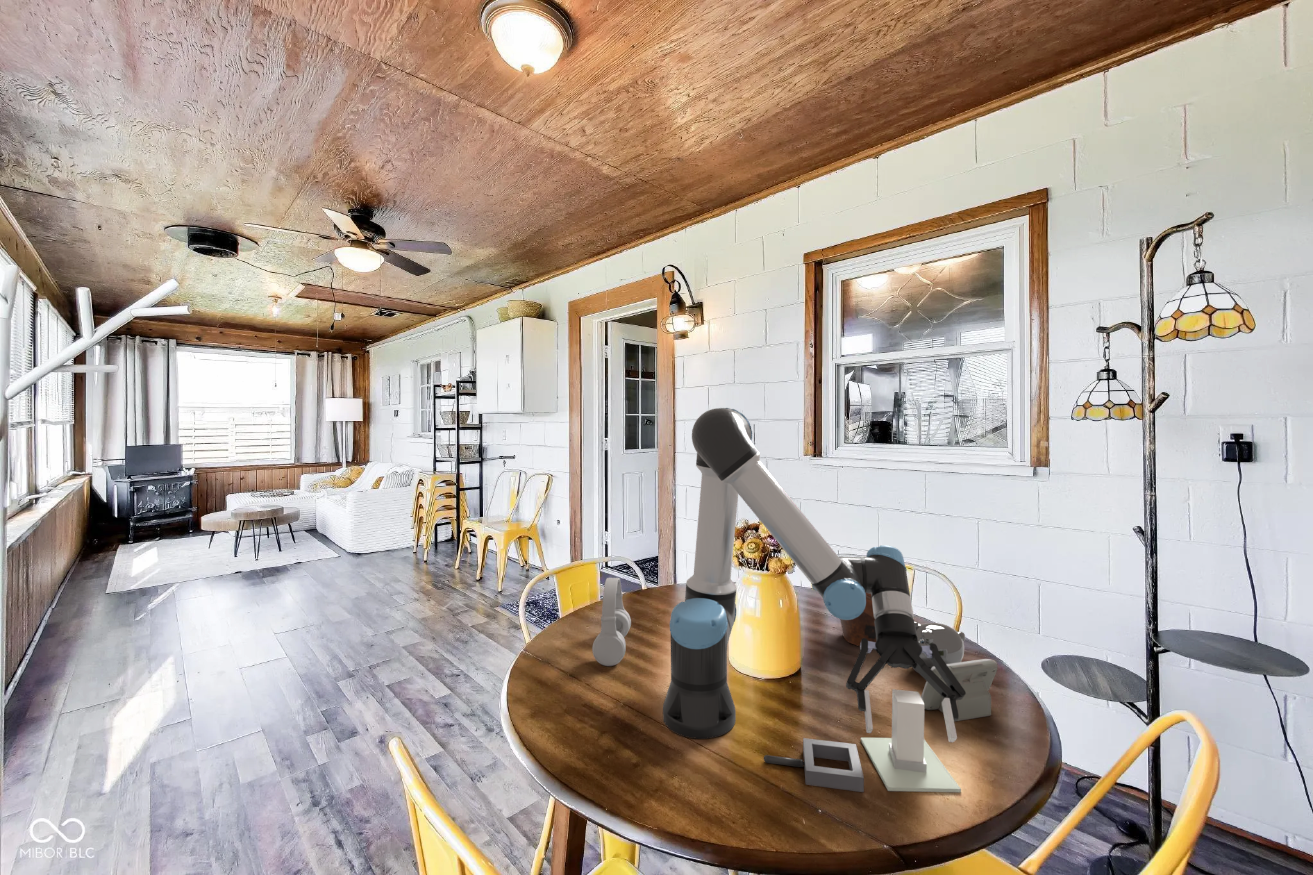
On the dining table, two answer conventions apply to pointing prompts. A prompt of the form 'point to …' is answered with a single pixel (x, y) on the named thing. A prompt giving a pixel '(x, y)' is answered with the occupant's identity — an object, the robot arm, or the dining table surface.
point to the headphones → (612, 626)
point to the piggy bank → (941, 641)
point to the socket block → (825, 775)
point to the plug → (907, 731)
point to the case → (860, 625)
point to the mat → (906, 779)
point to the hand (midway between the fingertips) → (910, 735)
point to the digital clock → (966, 688)
